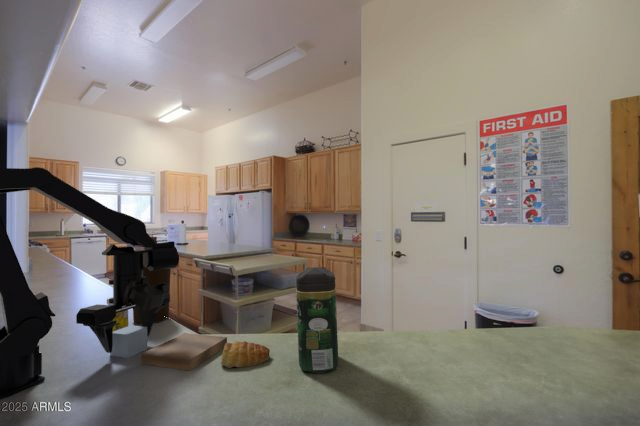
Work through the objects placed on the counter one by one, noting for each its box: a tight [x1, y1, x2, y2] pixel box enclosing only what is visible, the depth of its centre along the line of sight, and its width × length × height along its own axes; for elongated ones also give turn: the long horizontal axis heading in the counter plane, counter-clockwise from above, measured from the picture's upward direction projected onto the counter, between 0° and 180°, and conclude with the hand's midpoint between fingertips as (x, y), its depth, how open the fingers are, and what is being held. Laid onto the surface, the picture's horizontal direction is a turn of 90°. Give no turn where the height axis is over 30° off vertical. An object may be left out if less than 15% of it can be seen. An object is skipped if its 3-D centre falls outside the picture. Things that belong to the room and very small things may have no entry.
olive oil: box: [132, 236, 172, 325], centre depth 92 cm, size 11×11×25 cm
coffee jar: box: [295, 266, 339, 374], centre depth 60 cm, size 10×8×19 cm
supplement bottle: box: [106, 296, 129, 332], centre depth 80 cm, size 5×5×10 cm
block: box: [109, 324, 148, 359], centre depth 68 cm, size 5×5×5 cm
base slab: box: [140, 332, 228, 372], centre depth 65 cm, size 12×12×2 cm
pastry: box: [220, 340, 271, 369], centre depth 62 cm, size 9×7×4 cm
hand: (128, 343), depth 68 cm, fingers open, 9 cm apart
